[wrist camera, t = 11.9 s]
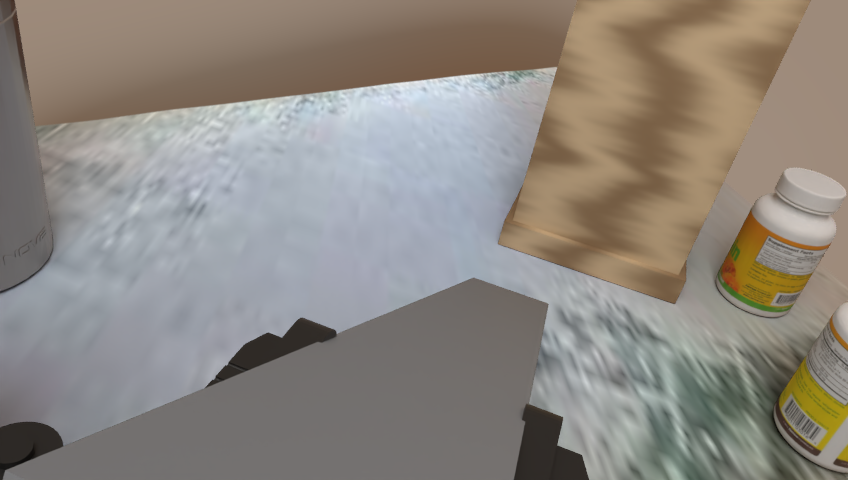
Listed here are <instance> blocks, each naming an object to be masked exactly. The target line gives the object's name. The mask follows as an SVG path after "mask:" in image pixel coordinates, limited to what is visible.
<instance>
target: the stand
mask: <svg viewBox="0 0 848 480" xmlns="http://www.w3.org/2000/svg"><path fill="white" fill-rule="evenodd" d="M810 1H811V0H577V3H576V6H575V10H574V13H573V16H572V20H571V23H570V27H569V30H568V33H567V37H566V40H565V44H564V47H563V51H562V54H561V57H560V61H559V64H558V67H557V71H556V74H555V78H554V81H553V85H552V88H551V91H550V95H549V98H548V102H547V105H546V108H545V112H544V115H543V119H542V122H541V125H540V129H539V132H538V136H537V139H536V143H535V146H534V149H533V153H532V156H531V160H530V163H529V166H528V170H527V173H526V177H525V180H524V183H523V186H522V188H521V190H520V192H519V194H518V196H517V198H516V200H515V202H514V204H513V206H512V207H511V209H510V211H509V213H508V215H507V217H506V219H505V221H504V225H503V228H502V232H501V235H500V239H499V242H498V244H500V245H503V246H506V247H509V248H512V249H515V250H518V251H520V252H523V253H526V254H529V255H532V256H535V257H538V258H541V259H544V260H547V261H550V262H553V263H556V264H559V265H562V266H565V267H568V268H571V269H573V270H576V271H579V272H582V273H585V274H588V275H591V276H594V277H597V278H600V279H603V280H606V281H609V282H612V283H615V284H618V285H621V286H624V287H626V288H629V289H632V290H635V291H638V292H641V293H644V294H647V295H650V296H653V297H656V298H659V299H662V300H665V301H668V302H671V303H674V304H675V302H676V300H677V298H678V296H679V294H680V292H681V290H682V288H683V286H684V284H685V282H686V259H687V257H688V255H689V253H690V250H691V248H692V246H693V244H694V242H695V240H696V238H697V236H698V234H699V232H700V230H701V228H702V226H703V223H704V221H705V219H706V217H707V215H708V213H709V211H710V209H711V207H712V205H713V203H714V201H715V199H716V196H717V194H718V192H719V190H720V188H721V186H722V184H723V182H724V180H725V178H726V176H727V174H728V171H729V169H730V167H731V165H732V163H733V161H734V159H735V157H736V155H737V153H738V151H739V149H740V147H741V144H742V142H743V140H744V138H745V136H746V134H747V132H748V130H749V128H750V126H751V124H752V122H753V119H754V117H755V115H756V113H757V111H758V109H759V107H760V105H761V103H762V101H763V99H764V96H765V95H766V92H767V90H768V88H769V86H770V84H771V82H772V80H773V78H774V76H775V74H776V71H777V70H778V68H779V65H780V63H781V61H782V59H783V57H784V55H785V53H786V51H787V49H788V47H789V45H790V43H791V40H792V38H793V36H794V34H795V32H796V30H797V28H798V26H799V24H800V22H801V20H802V18H803V16H804V13H805V11H806V9H807V7H808V5H809V3H810Z"/></svg>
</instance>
